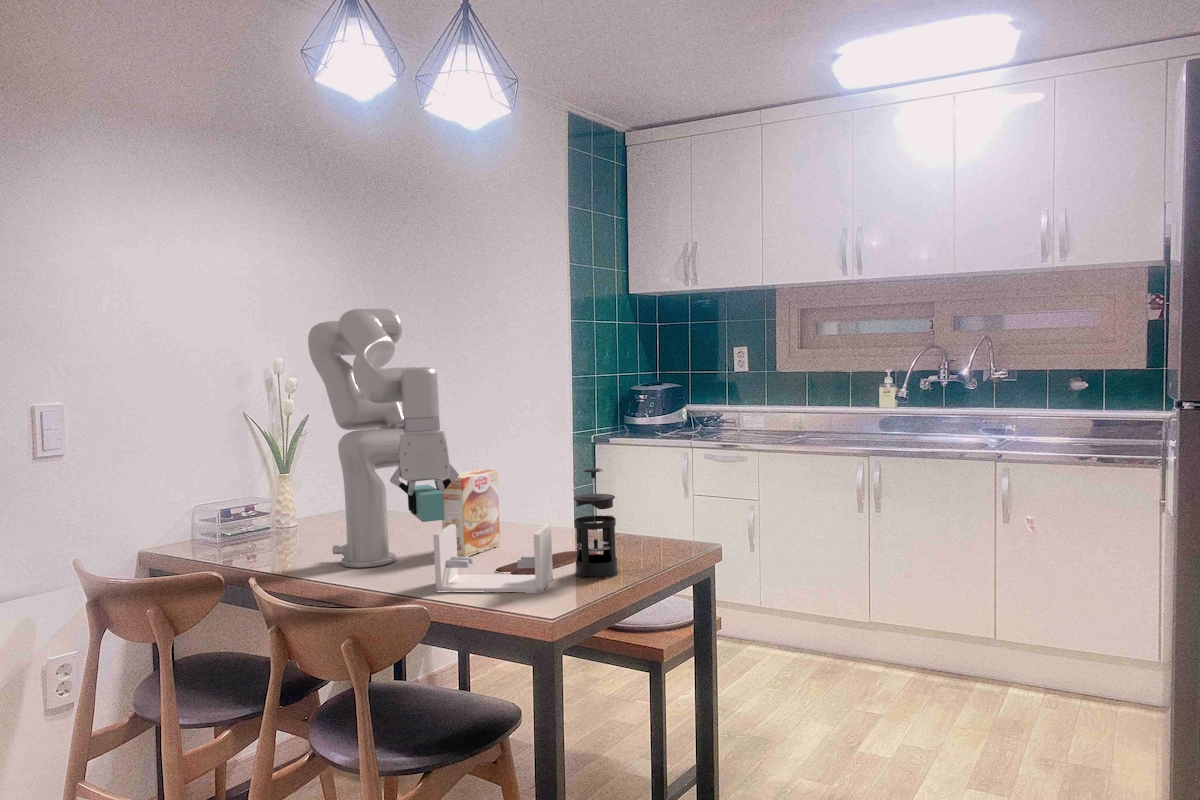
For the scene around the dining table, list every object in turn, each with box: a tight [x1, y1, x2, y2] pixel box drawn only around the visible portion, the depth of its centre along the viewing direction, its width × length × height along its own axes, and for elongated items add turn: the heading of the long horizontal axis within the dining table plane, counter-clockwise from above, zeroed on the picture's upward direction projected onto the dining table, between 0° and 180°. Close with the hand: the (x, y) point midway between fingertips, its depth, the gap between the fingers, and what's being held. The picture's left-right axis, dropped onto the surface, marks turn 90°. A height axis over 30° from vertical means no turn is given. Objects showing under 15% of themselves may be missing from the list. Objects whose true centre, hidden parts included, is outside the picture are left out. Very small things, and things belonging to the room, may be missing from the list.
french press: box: [573, 467, 619, 579], centre depth 196 cm, size 12×9×23 cm
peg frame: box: [433, 523, 554, 594], centre depth 188 cm, size 22×11×12 cm, turn 81°
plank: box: [409, 484, 445, 523], centre depth 190 cm, size 16×4×6 cm, turn 21°
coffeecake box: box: [441, 468, 501, 557], centre depth 223 cm, size 15×7×20 cm, turn 151°
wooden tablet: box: [495, 550, 597, 575], centre depth 208 cm, size 26×2×10 cm
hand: (426, 511), depth 190 cm, fingers closed on plank, 4 cm apart
